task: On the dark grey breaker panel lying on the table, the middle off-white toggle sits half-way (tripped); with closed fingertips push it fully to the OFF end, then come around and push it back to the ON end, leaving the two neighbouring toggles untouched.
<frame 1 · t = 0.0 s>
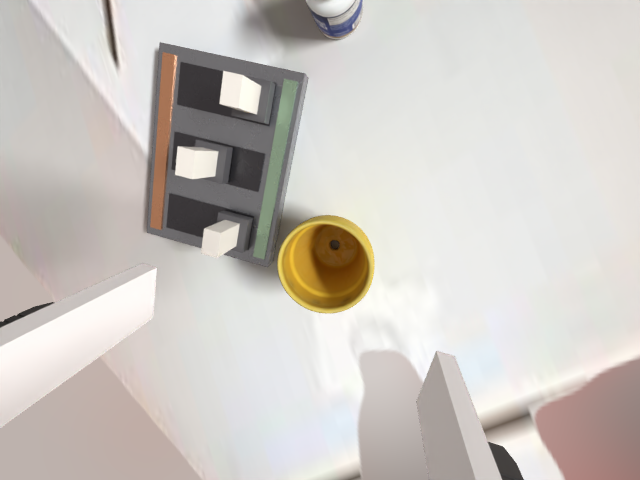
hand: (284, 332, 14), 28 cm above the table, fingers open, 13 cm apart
plant pot: (335, 243, 42), on the table
pill bottle: (339, 14, 35), on the table
breaker mid: (201, 162, 36), point 6 cm above the table, slide at 0.0 cm
panel: (224, 161, 42), on the table
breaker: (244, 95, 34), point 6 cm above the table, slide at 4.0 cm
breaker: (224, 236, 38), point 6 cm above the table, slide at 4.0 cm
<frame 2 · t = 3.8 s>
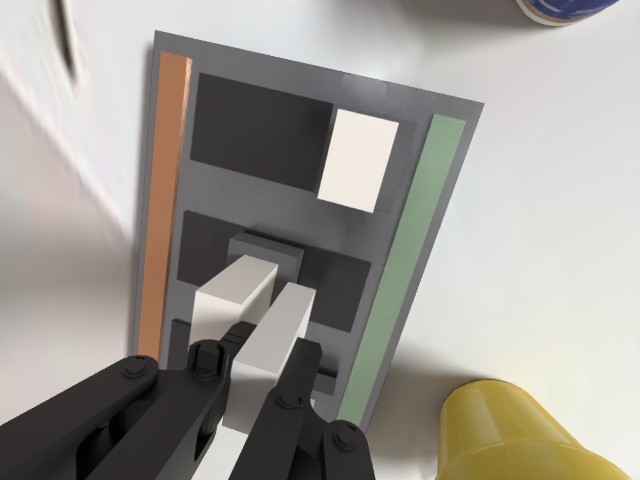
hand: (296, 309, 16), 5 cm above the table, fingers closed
plant pot: (486, 416, 22), on the table
breaker mid: (244, 295, 16), point 6 cm above the table, slide at 0.0 cm, touching gripper
panel: (278, 261, 22), on the table
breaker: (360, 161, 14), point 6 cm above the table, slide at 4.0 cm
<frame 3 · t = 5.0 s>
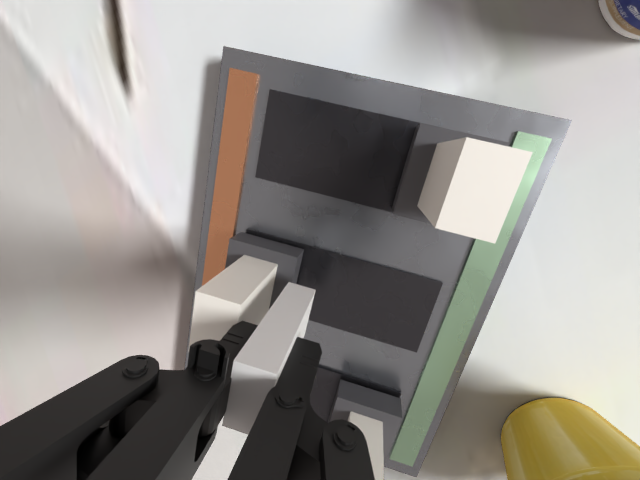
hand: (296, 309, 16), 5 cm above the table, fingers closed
plant pot: (548, 433, 22), on the table
breaker mid: (244, 295, 16), point 6 cm above the table, slide at -4.2 cm, touching gripper
panel: (336, 277, 21), on the table
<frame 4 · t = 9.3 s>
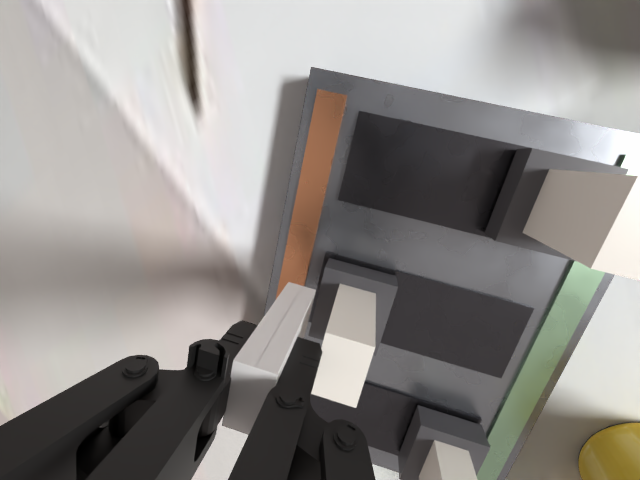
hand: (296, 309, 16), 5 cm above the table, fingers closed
plant pot: (628, 458, 21), on the table
breaker mid: (348, 328, 16), point 6 cm above the table, slide at -3.7 cm, touching gripper
panel: (409, 299, 21), on the table
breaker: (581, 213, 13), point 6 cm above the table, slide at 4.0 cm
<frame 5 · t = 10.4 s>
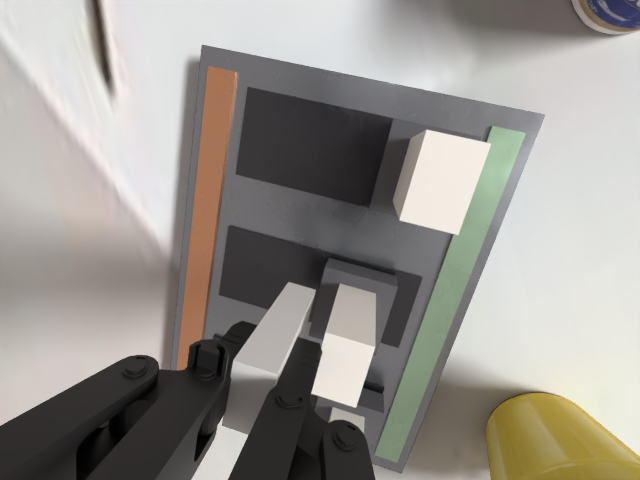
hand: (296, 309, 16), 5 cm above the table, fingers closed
plant pot: (533, 429, 22), on the table
breaker mid: (348, 328, 16), point 6 cm above the table, slide at 2.5 cm, touching gripper
panel: (319, 274, 22), on the table
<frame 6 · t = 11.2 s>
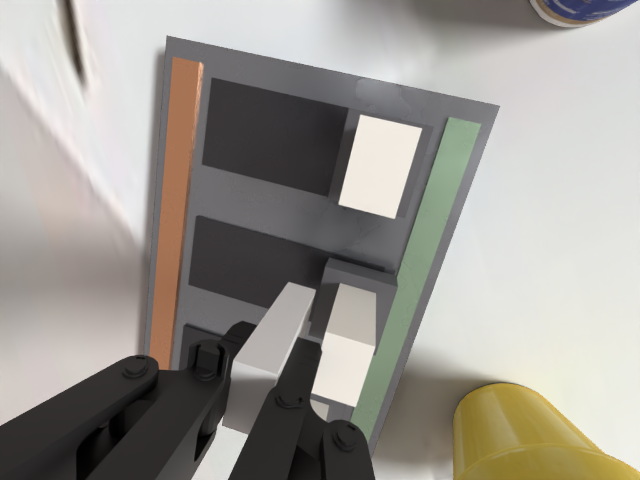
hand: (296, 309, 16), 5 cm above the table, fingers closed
plant pot: (500, 419, 22), on the table
breaker mid: (348, 328, 16), point 6 cm above the table, slide at 4.7 cm, touching gripper
panel: (289, 265, 22), on the table
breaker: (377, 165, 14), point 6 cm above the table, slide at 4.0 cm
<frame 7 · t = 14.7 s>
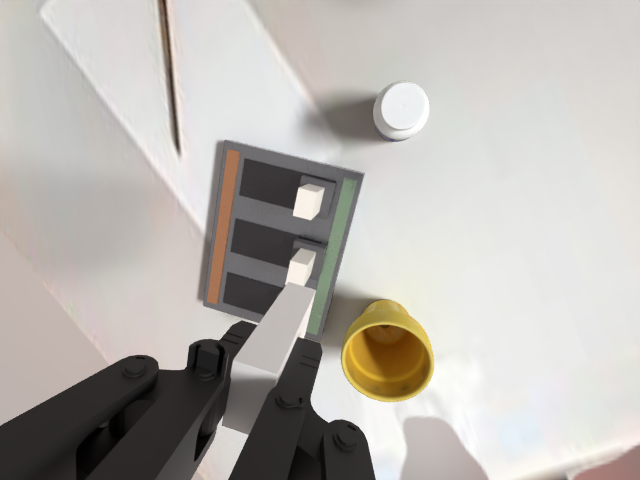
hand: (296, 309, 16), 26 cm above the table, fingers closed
plant pot: (384, 319, 45), on the table
pill bottle: (396, 118, 38), on the table
breaker mid: (302, 265, 38), point 6 cm above the table, slide at 4.8 cm
panel: (279, 242, 44), on the table
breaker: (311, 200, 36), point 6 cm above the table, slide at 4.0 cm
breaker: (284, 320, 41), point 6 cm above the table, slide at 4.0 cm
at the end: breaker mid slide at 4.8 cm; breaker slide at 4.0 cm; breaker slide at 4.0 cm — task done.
